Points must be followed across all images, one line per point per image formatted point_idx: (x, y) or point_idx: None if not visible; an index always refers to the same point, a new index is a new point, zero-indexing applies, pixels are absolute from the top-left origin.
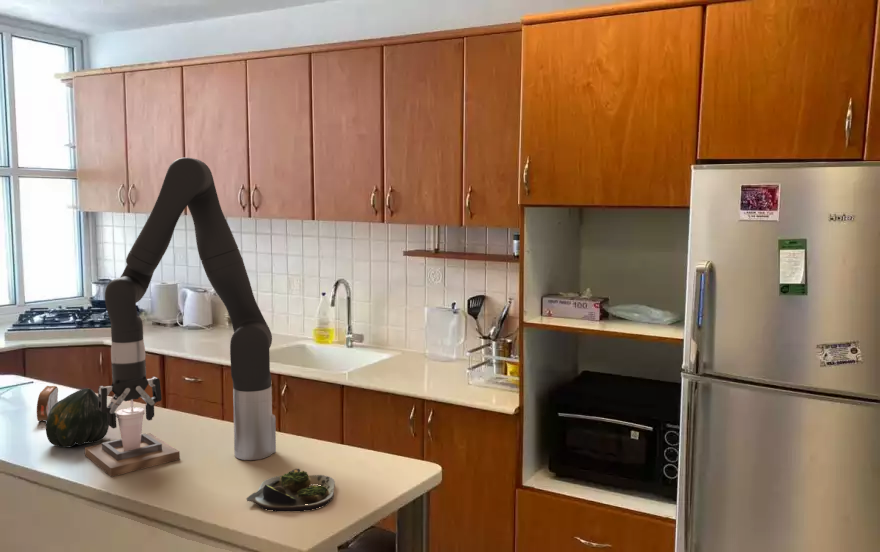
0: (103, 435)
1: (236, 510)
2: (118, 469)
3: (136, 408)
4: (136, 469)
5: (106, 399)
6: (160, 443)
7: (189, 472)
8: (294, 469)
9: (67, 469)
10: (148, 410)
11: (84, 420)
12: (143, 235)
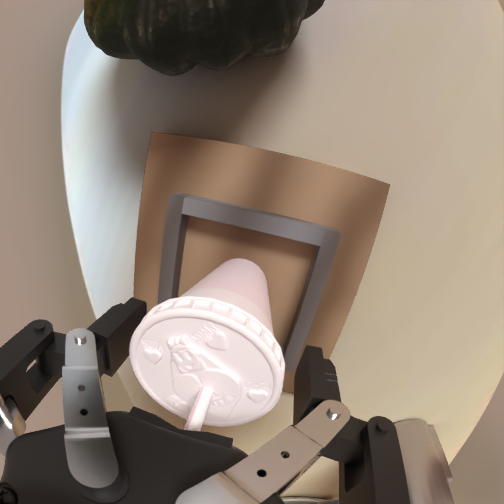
0: (265, 56)
1: None
2: None
3: (259, 365)
4: None
5: (29, 411)
6: (294, 365)
7: (265, 432)
8: (336, 501)
9: (93, 206)
10: (296, 405)
11: (141, 53)
12: None
